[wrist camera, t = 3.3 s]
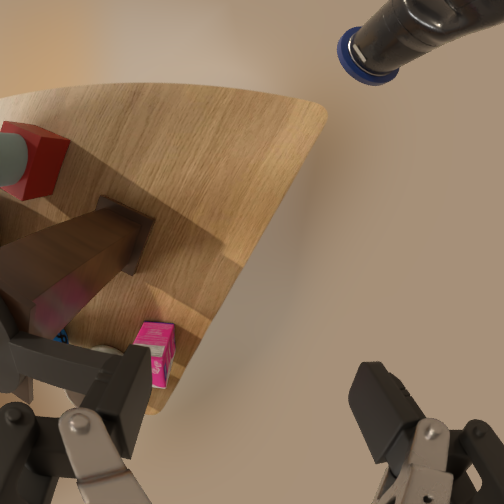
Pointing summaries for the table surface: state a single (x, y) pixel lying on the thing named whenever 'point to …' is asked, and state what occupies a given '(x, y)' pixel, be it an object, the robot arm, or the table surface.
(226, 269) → the table surface
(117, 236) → the stand
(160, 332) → the supplement box
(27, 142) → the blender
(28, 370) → the lid
